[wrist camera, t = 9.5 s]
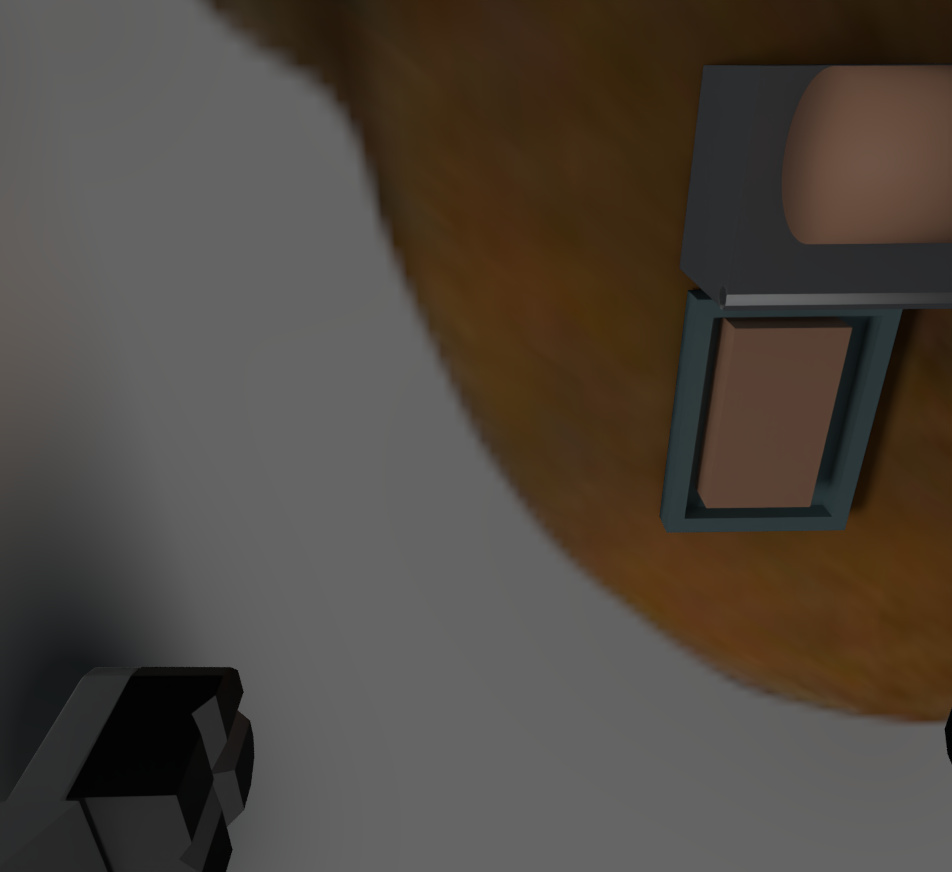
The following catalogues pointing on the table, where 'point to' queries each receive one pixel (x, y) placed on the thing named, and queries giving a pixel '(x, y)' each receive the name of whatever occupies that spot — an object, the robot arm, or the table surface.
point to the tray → (842, 441)
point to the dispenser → (822, 187)
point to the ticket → (769, 409)
